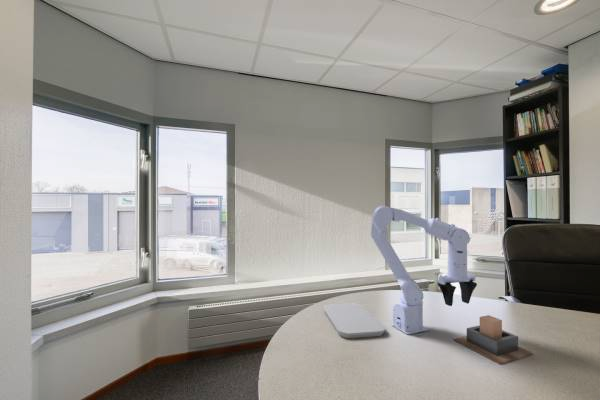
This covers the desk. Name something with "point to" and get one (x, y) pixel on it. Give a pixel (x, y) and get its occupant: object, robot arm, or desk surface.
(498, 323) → the peg
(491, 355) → the socket board
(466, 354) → the desk surface
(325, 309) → the tablet
